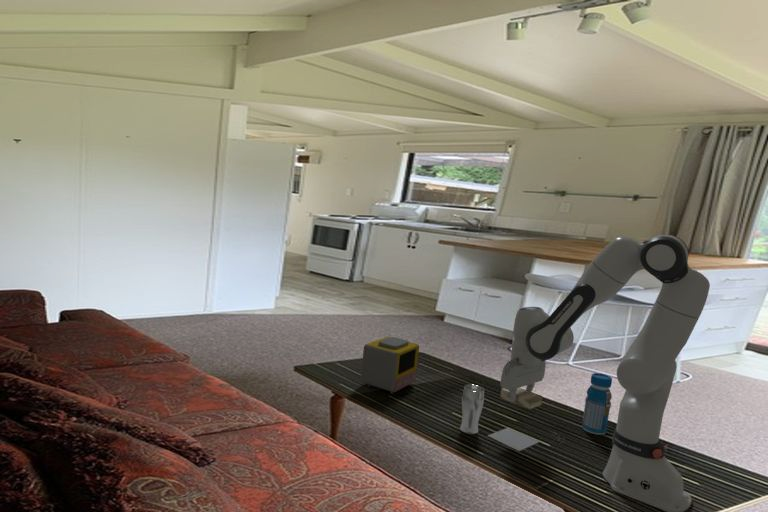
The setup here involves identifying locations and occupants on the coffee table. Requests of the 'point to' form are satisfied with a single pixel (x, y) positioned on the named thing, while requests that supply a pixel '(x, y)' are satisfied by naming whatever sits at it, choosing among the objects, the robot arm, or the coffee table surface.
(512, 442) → the grey mat
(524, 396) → the birch lid
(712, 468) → the coffee table surface
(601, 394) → the beverage bottle
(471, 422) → the beer glass
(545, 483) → the coffee table surface
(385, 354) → the alarm clock
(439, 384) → the coffee table surface
